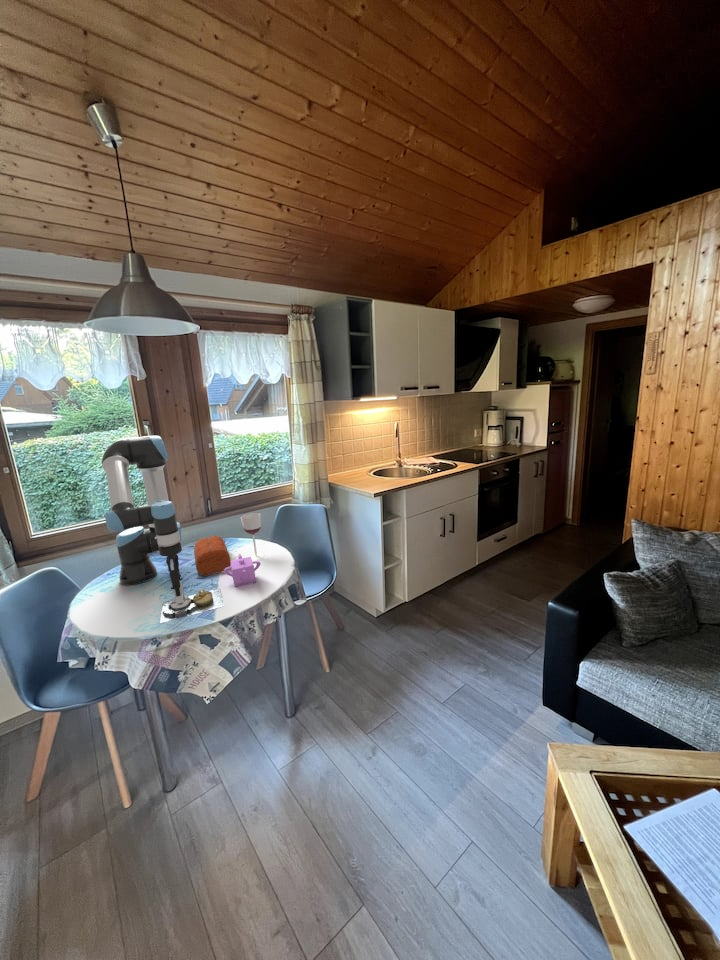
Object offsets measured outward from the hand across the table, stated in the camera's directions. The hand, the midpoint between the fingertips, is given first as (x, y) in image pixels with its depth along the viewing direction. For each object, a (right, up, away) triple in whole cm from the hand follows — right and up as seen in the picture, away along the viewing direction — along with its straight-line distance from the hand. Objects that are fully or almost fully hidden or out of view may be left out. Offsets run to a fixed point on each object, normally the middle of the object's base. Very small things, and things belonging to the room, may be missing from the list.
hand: (180, 600), depth 148 cm
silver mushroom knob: (0, -2, +1) cm, 2 cm away
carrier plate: (+4, -4, +2) cm, 6 cm away
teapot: (+19, +1, +20) cm, 28 cm away
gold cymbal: (+8, -2, +4) cm, 9 cm away
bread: (-4, +5, +43) cm, 43 cm away
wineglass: (+17, +7, +46) cm, 50 cm away
